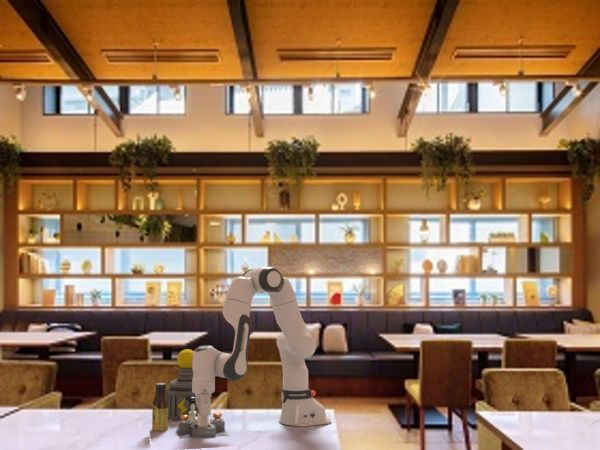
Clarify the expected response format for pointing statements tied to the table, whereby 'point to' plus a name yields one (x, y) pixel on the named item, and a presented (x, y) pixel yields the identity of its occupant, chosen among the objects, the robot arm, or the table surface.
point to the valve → (192, 409)
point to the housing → (201, 429)
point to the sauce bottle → (160, 409)
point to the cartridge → (200, 421)
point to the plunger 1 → (184, 418)
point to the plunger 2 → (217, 416)
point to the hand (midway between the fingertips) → (203, 423)
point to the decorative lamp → (181, 388)
